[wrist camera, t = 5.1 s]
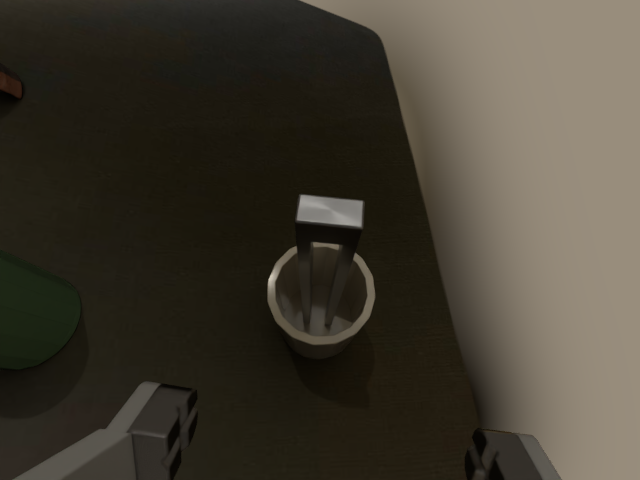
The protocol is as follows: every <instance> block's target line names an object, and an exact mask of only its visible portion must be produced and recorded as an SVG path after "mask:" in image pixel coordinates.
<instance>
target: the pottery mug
mask: <svg viewBox="0 0 640 480" xmlns="http://www.w3.org/2000/svg"><path fill="white" fill-rule="evenodd" d="M0 91H3V92H6V93H9V94H11V95H12V96H14V97H16V98H18V99H21V97H22V86H21V81H20V78H19V76H18V75H17V74H16V73H15V72H13V71H11V70H10V69H8V68H7V67H6V66H4V65H3V64H1V63H0Z"/></svg>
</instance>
